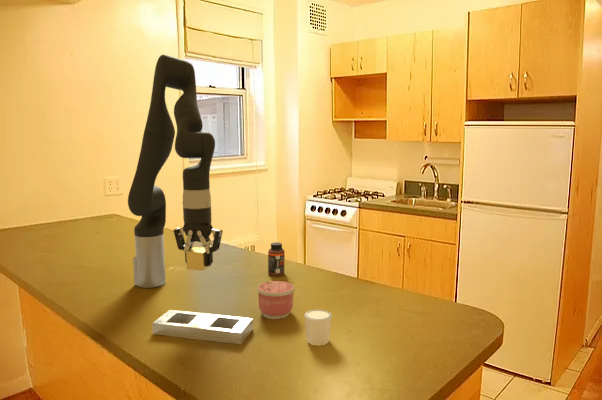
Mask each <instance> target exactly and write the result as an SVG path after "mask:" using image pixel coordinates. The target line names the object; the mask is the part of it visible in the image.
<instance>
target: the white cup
mask: <svg viewBox="0 0 602 400" xmlns="http://www.w3.org/2000/svg"><path fill="white" fill-rule="evenodd" d="M332 317H333V314H332V313H331V312H330V311H327V310H323V309H311V310H307V311H306V312H305V313H304V323H305V325H304V326H305V335H306V337H305V338H306V342H307V344H308V343H310V344H312V345H311V346H313V345H324V344H327V343H328V342H329V343H330V334H331V328H332V327H331V325H332ZM329 343H328V344H329ZM310 344H309V345H310ZM328 344H327V345H328ZM324 346H325V345H324Z"/></svg>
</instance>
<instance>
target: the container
mask: <svg viewBox="0 0 602 400" xmlns="http://www.w3.org/2000/svg"><path fill="white" fill-rule="evenodd" d="M256 288H257V289H256V290H257V292H258V293H257V294H258V296H257V297H258V308H259V310H260V312H261V313H262V316H263V317H265V318H267V319H270V320H273V319H274V320H280V318H281V319H284V317H285V318H287V317H289V314H290V313H291V312H292V310H293V306H294V292H295V285H294V284H292V283H290V282H287V281H281V280H274V281H273V280H272V281H266V282H262V283H260V284H258V286H257V287H256ZM286 316H287V317H286Z"/></svg>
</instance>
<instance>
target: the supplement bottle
mask: <svg viewBox="0 0 602 400" xmlns="http://www.w3.org/2000/svg"><path fill="white" fill-rule="evenodd" d="M285 257H286V255H285V250H284V248H283V243H282V242H272V243H270V248H269V249H268V251H267V258H268V259H267V261H268V262H267V264H268V265H267V272H268V274H269V275H270V276H274V277H275V276H276V277H277V276H283V275H284V274H285V259H286V258H285Z"/></svg>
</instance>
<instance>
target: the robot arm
mask: <svg viewBox="0 0 602 400" xmlns="http://www.w3.org/2000/svg"><path fill="white" fill-rule="evenodd" d="M152 82H153V83H152V90H151V96H150V103H149V109H148V113H147V116H146V117H147V118H146V122H145V127H144V131H143V136H142V140H141V146H140V152H139V156H138V160H137V161H138V162H137V165H136V169H135V174H134V177H133V180H132V183H131V185H130V188H129V193H128V197H127V206H128V209H129V211H130V213H132V215H134V216H137V217H141V219H140V220H139V222H138V223H137V224H136V225H135V226H134V229H133V233H134V248H135V249H134V250H135V256H134V257H133V258H132V264H133V283H134V286H137V287H139V288H144V289H150V288H157V287H161V286H163V285H165V284H166V264H165V263H166V262H165V261H166V260H165V255H166V254H165V237H164V236H165V235H164V230H165V229H164V228H165V226H166V221H167V220H166V219H167V218H166V217H167V203H166V202H167V201H166V196H165V193H164V191H163V189H162V188H161V187H159V186H158V185H155V184H156V180H157V177H158V175H159V174H160V172H161V169H162V168H163V166H164V165H165V163H166V161H167V160H168V158H169V157H170V155H171V152H172V149H173V146H174V149H175V153H176V154H177V156H179V157H180V158H182V159H200V160H199V162H198V163H197V164H196V165H193V166H188V167H186V168H184V169H183V170H182V181H183V182H182V185H183V186H182V187H183V188H182V189H183V191H182V211H183V212H182V215H183V223H184V224H183V226H182V227H176V228H175V229H173V234H174V238H175V242H176V247H177V249H178V250H179V251H183V252H184V255H185V256H184V258H185V259H184V261H185V263H186V264H187V259H186V252H187V251H188V250H190V249H192V248H193V245H194V244H195V243H196V242H198V243H201V246H202V248H204V249H205V251H206V254H205V258H206V266H207V267H208V268H209V266H210V265H211V266H212V264H213V262H214V256H213V254H214V253H215V252H217V251H218V250H220V247H221V241H222V235H223V231H224V230H222V229H216V228H214V226H213V225H212V198H211V197H212V196H211V195H212V194H211V190H210V188H211V187H210V186H211V185H210V184H211V183H210V170H211V165H212V160H213V157H214V153H215V148H216V140H215V137H214V135H213V134H212V133H211V132H209V131H203V119H202V118H201V117H202V116H201V113H200V110H199V106H198V100H197V83H196V82H197V81H196V72H195V68H194V65H193V63H191V62H190V61H188V60H185V59H182V58H179V57H175V56H171V55H168V54H160V56H159V57H158V59H157V60H156V64H155V69H154V75H153V81H152ZM167 88H169V89H172V90H173V89H174V90H178V91H182V95H181V96H180V97H179V98H178V99H177V100H176V102H175V104H174V107H173V116H174V120H175V124H176V130H175V126H174V122H173V120H172V118H171V115H170V113H169V110H168V107H167V106H168V105H167V104H166V103H167V102H166V89H167ZM175 135H176V136H175ZM173 144H174V145H173ZM184 234H185V235H186V240H185V237H184ZM211 235H212V237H213V241H211V240H212V239H211V238H210V237H211ZM211 266H210V267H211Z"/></svg>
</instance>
